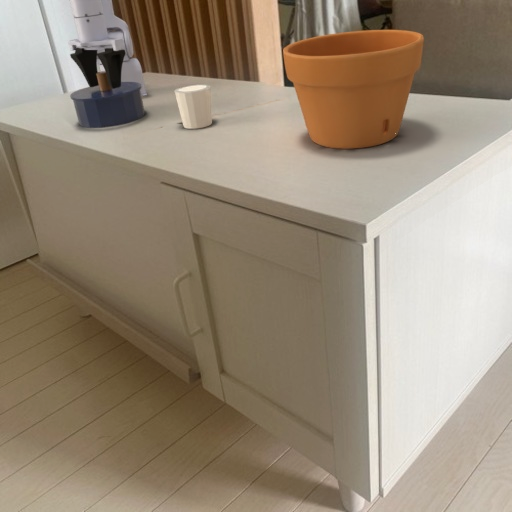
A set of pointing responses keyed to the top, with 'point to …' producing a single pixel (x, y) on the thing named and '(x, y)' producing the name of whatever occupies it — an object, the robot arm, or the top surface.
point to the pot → (110, 111)
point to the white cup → (195, 105)
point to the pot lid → (104, 90)
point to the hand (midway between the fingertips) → (105, 86)
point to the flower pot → (354, 84)
